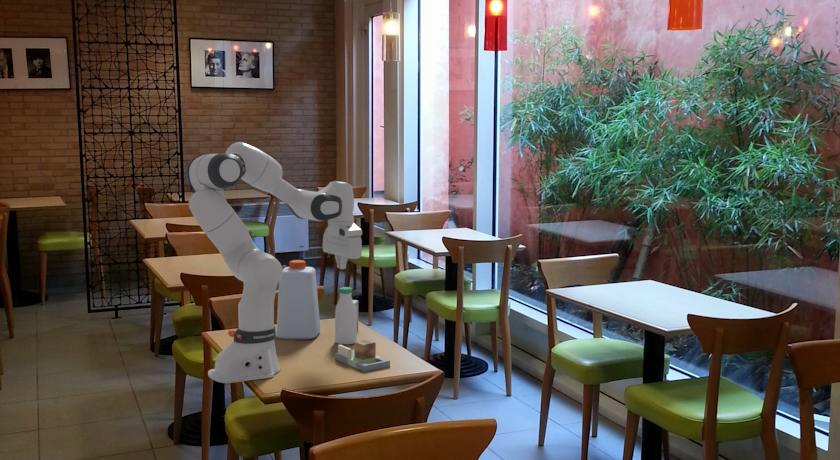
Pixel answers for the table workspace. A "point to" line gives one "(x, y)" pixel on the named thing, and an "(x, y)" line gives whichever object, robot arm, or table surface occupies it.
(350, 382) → the table surface
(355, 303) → the skincare box
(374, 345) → the block
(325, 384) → the table surface
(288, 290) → the plastic bottle
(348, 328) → the milk bottle
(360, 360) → the grey tray
